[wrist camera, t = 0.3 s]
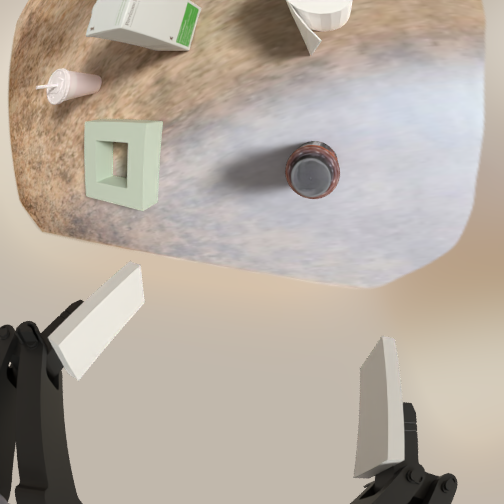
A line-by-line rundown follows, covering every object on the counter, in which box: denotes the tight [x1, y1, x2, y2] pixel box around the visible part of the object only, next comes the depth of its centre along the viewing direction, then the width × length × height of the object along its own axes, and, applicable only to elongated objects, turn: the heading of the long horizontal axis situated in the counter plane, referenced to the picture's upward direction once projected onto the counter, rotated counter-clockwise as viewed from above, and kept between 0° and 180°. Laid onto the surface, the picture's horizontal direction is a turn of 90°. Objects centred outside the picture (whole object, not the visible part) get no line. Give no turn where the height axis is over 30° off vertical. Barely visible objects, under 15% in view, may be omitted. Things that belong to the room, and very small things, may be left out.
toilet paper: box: [286, 0, 352, 56], centre depth 21 cm, size 8×11×7 cm
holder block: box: [84, 119, 163, 211], centre depth 40 cm, size 14×14×4 cm
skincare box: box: [86, 0, 201, 51], centre depth 23 cm, size 8×7×16 cm
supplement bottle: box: [285, 141, 340, 199], centre depth 30 cm, size 6×6×11 cm
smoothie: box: [36, 68, 102, 105], centre depth 30 cm, size 6×6×14 cm
